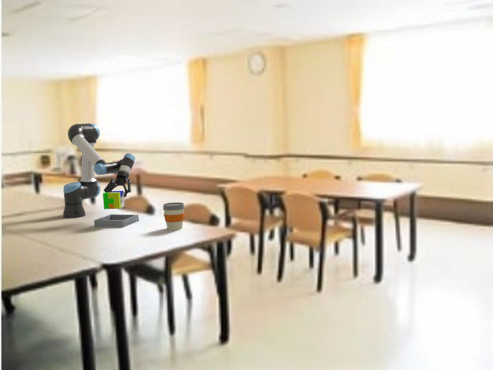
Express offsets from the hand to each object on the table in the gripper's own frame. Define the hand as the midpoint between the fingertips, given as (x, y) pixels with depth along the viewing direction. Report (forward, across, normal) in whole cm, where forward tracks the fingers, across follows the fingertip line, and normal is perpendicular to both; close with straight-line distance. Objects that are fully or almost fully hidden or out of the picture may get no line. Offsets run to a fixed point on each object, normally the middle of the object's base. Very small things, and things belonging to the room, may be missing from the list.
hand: (113, 200), depth 337 cm
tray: (+9, 0, -13) cm, 16 cm away
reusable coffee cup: (+17, -45, -5) cm, 48 cm away
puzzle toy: (+3, 0, -3) cm, 5 cm away
